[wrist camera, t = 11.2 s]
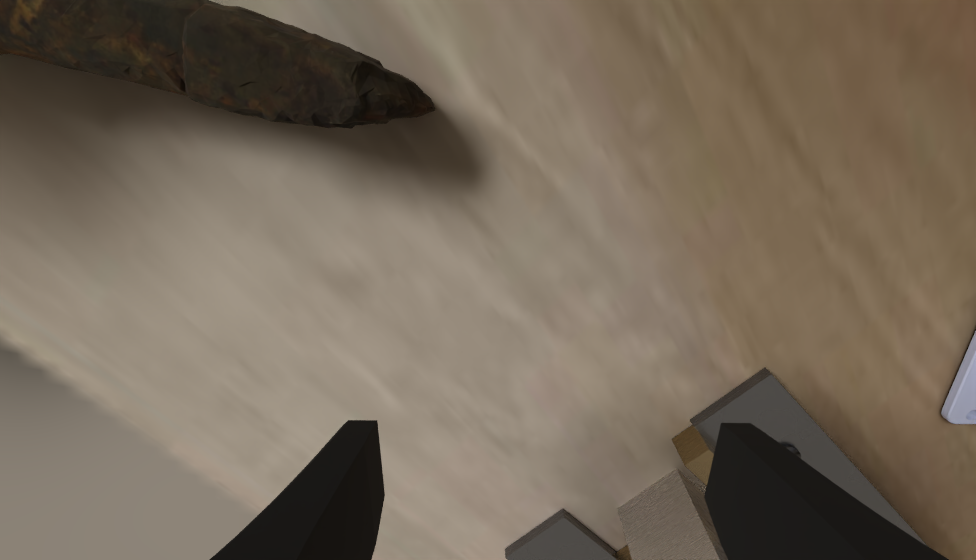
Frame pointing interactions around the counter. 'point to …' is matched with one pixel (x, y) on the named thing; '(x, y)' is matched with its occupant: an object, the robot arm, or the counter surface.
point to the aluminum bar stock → (670, 522)
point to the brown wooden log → (213, 58)
